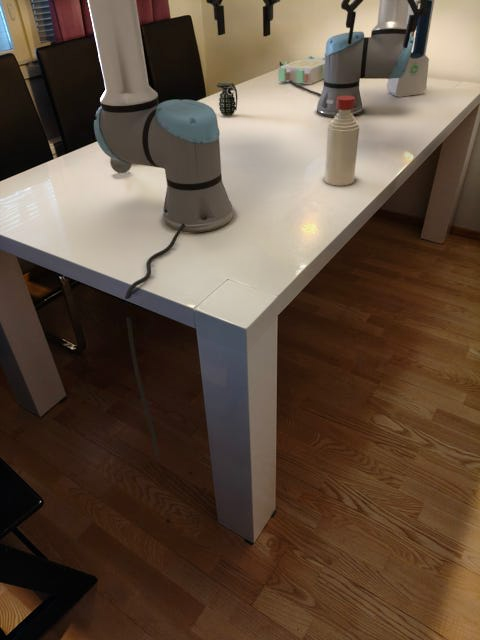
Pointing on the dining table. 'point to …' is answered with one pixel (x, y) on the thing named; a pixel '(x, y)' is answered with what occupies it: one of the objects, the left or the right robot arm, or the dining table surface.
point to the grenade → (227, 99)
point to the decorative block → (303, 70)
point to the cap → (345, 102)
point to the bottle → (341, 149)
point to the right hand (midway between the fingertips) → (376, 44)
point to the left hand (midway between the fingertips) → (243, 35)
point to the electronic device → (415, 59)
